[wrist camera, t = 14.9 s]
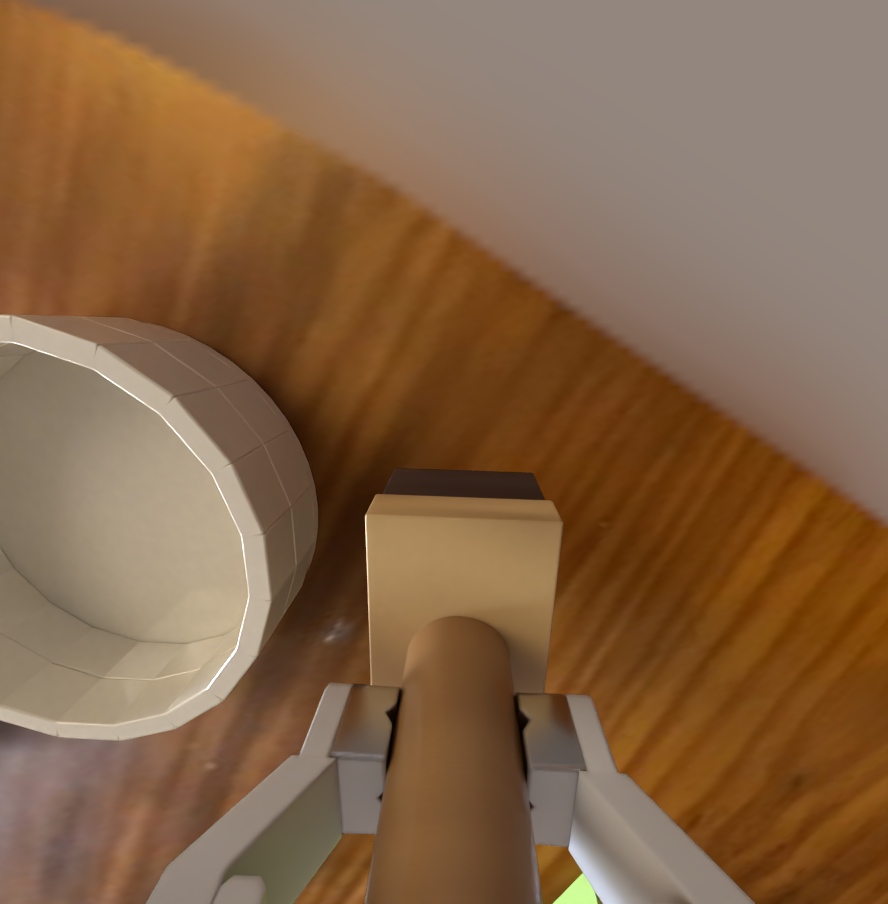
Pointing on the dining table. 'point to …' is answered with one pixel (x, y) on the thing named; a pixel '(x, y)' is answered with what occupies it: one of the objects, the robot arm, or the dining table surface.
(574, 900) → the kettle
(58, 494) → the bowl
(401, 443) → the dining table surface
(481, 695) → the brush
